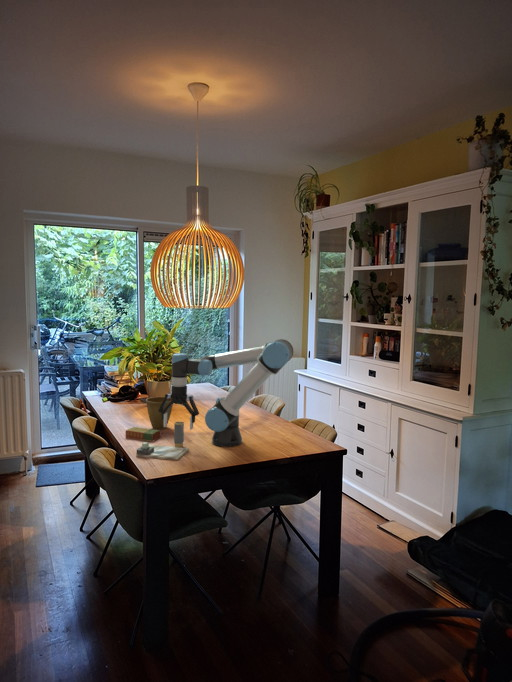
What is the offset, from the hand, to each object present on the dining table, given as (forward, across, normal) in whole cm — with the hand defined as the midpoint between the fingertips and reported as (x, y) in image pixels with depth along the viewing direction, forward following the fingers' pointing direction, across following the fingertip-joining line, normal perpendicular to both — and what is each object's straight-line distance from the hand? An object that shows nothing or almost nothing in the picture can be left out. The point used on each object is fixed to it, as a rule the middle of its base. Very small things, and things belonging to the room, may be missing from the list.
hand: (178, 427), depth 245 cm
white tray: (+10, +3, +12) cm, 15 cm away
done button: (+7, +10, +16) cm, 20 cm away
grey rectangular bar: (+9, 0, 0) cm, 9 cm away
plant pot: (+10, +22, -28) cm, 37 cm away
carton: (+10, +22, -9) cm, 26 cm away
